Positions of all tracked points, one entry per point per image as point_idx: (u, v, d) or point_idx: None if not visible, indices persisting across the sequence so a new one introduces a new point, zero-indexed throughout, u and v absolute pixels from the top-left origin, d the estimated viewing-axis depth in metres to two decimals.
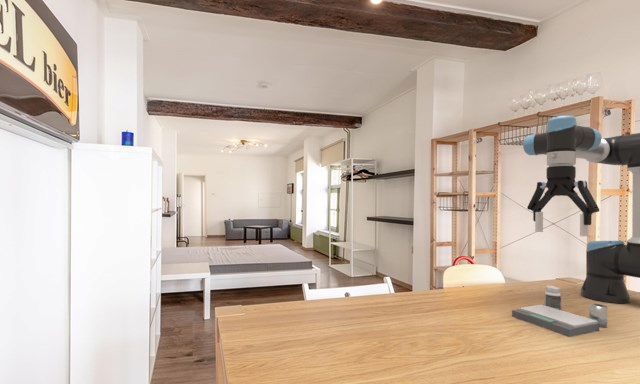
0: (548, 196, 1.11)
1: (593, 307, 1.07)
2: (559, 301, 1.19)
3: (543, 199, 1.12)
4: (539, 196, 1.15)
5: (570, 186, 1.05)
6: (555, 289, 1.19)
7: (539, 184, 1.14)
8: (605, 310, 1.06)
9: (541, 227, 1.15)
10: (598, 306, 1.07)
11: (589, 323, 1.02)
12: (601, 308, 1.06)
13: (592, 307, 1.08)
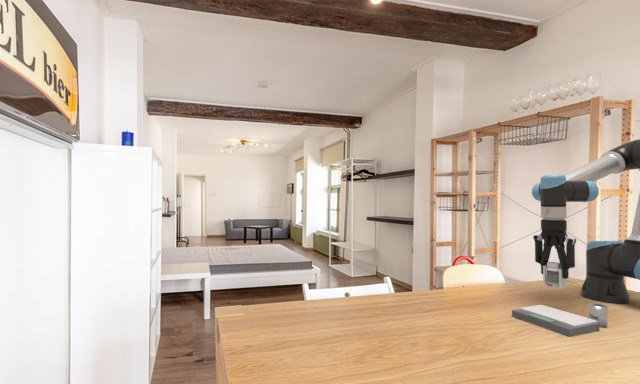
0: (547, 247, 1.22)
1: (593, 307, 1.07)
2: None
3: (544, 251, 1.23)
4: (540, 247, 1.26)
5: (561, 239, 1.18)
6: (556, 264, 1.19)
7: (535, 237, 1.26)
8: (605, 310, 1.06)
9: None
10: (598, 306, 1.07)
11: (589, 323, 1.02)
12: (601, 308, 1.06)
13: (592, 307, 1.08)
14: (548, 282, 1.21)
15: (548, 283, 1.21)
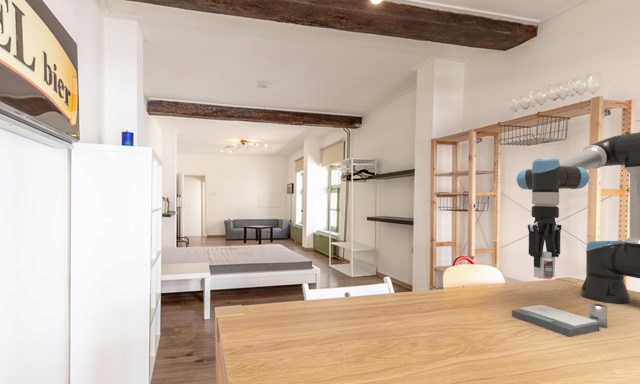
0: None
1: (593, 307, 1.07)
2: None
3: None
4: (554, 238, 1.15)
5: None
6: None
7: None
8: (605, 310, 1.06)
9: None
10: (598, 306, 1.07)
11: (589, 323, 1.02)
12: (601, 308, 1.06)
13: (592, 307, 1.08)
14: None
15: None
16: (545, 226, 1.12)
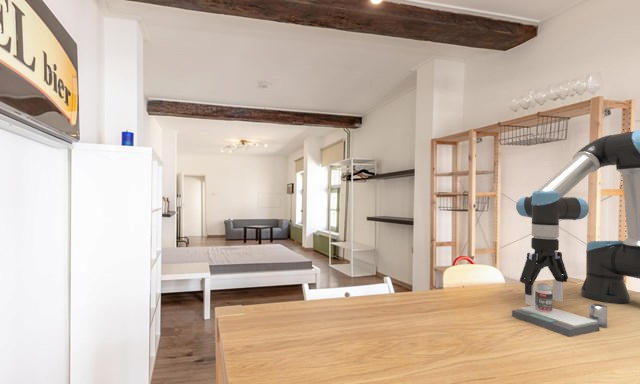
0: (548, 265, 1.16)
1: (593, 307, 1.07)
2: (538, 298, 1.13)
3: None
4: (558, 265, 1.16)
5: None
6: (537, 285, 1.14)
7: None
8: (605, 310, 1.06)
9: (559, 296, 1.15)
10: (598, 306, 1.07)
11: (589, 323, 1.02)
12: (601, 308, 1.06)
13: (592, 307, 1.08)
14: None
15: None
16: (544, 258, 1.11)
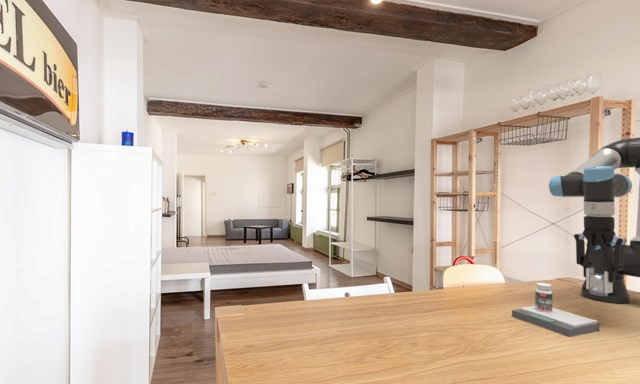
0: (591, 247, 1.10)
1: (593, 276, 1.08)
2: (538, 298, 1.13)
3: (588, 252, 1.10)
4: (582, 248, 1.13)
5: (608, 238, 1.05)
6: (537, 285, 1.14)
7: (576, 236, 1.13)
8: None
9: None
10: (598, 275, 1.08)
11: (589, 323, 1.02)
12: (601, 277, 1.06)
13: (592, 276, 1.08)
14: None
15: None
16: None
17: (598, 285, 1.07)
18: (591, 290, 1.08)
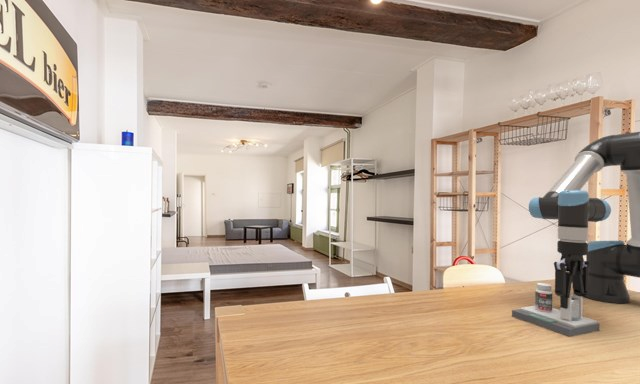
0: None
1: None
2: (538, 298, 1.13)
3: None
4: (582, 275, 1.07)
5: None
6: (537, 285, 1.14)
7: None
8: None
9: None
10: None
11: (589, 323, 1.02)
12: None
13: None
14: None
15: None
16: (573, 264, 1.04)
17: None
18: None
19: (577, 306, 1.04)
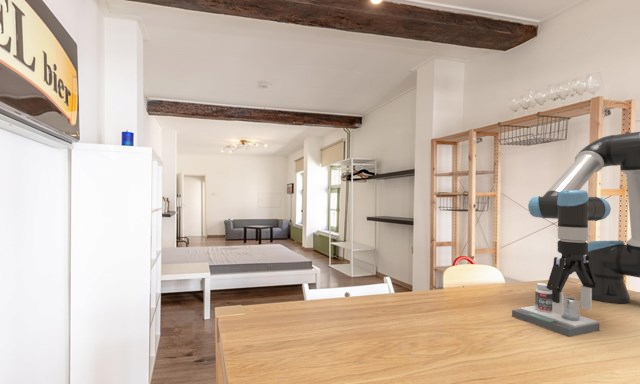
0: (575, 270, 1.08)
1: None
2: (538, 298, 1.13)
3: None
4: (586, 270, 1.08)
5: None
6: (537, 285, 1.14)
7: None
8: (564, 301, 1.05)
9: (588, 303, 1.07)
10: (566, 298, 1.06)
11: (589, 323, 1.02)
12: None
13: None
14: None
15: None
16: (573, 262, 1.04)
17: None
18: None
19: (577, 306, 1.04)
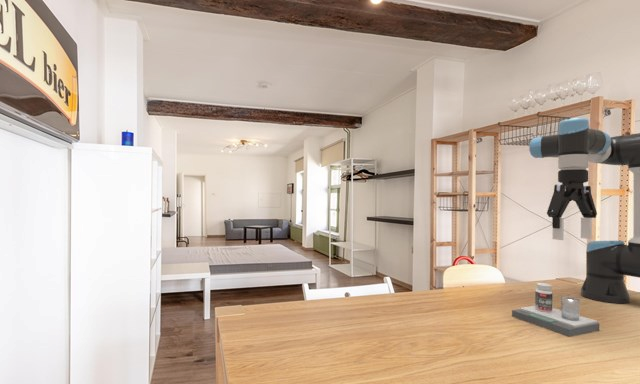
0: (575, 201, 1.08)
1: None
2: (538, 298, 1.13)
3: None
4: (587, 200, 1.09)
5: None
6: (537, 285, 1.14)
7: None
8: (564, 301, 1.05)
9: (588, 233, 1.08)
10: (566, 298, 1.06)
11: (589, 323, 1.02)
12: (562, 298, 1.06)
13: None
14: None
15: None
16: (573, 190, 1.04)
17: None
18: None
19: (577, 306, 1.04)
